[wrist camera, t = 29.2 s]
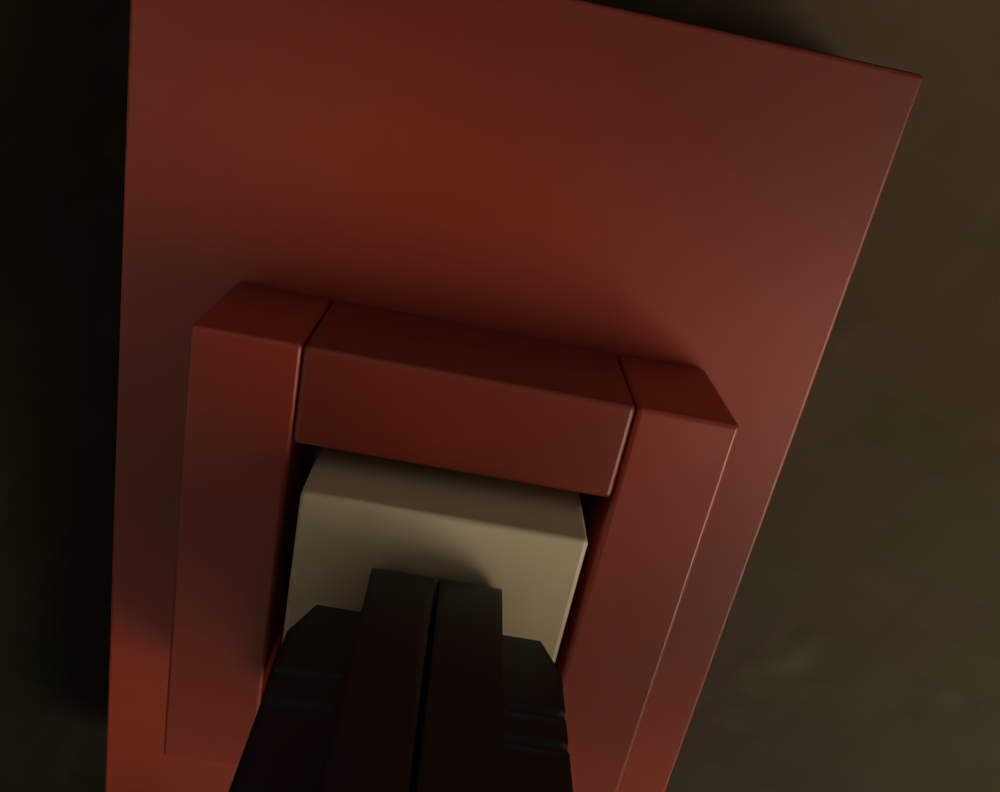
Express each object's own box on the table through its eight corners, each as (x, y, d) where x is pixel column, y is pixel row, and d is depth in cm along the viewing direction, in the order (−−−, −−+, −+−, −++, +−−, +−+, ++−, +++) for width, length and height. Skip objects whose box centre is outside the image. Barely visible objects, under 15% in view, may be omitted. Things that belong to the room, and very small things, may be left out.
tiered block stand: (198, -75, 11) (49, -132, 8) (853, 69, 12) (1013, 81, 8) (151, 738, 16) (50, 940, 13) (608, 807, 17) (638, 1018, 13)
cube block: (333, 414, 11) (299, 490, 9) (574, 458, 11) (589, 542, 9) (306, 614, 12) (271, 719, 10) (525, 650, 13) (529, 758, 11)
